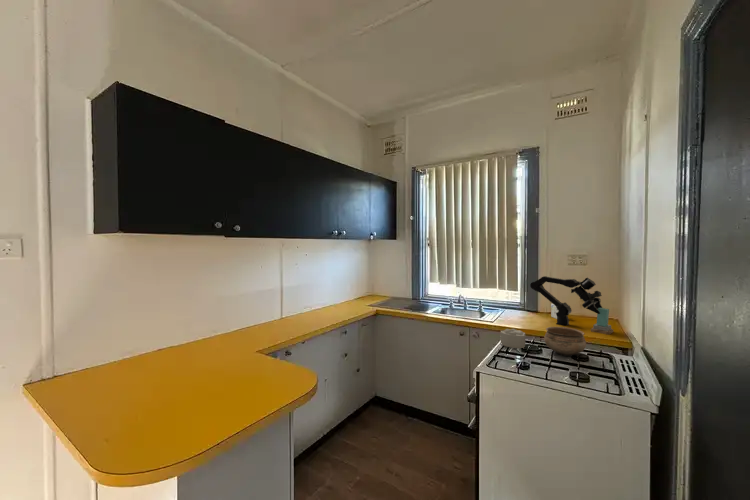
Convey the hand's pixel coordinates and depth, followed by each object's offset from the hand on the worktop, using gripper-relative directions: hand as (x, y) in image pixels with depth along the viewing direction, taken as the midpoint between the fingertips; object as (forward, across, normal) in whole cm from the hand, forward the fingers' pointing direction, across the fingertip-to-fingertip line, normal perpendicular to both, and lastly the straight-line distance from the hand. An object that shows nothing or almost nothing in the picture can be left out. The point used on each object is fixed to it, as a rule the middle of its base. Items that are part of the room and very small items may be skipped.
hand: (601, 312), depth 206 cm
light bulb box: (-14, +18, +33) cm, 40 cm away
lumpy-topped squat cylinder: (-8, -72, +26) cm, 77 cm away
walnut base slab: (+10, 0, +9) cm, 13 cm away
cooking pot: (+10, -65, +8) cm, 67 cm away
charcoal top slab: (+8, 0, +7) cm, 11 cm away
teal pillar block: (+6, 0, +6) cm, 8 cm away
